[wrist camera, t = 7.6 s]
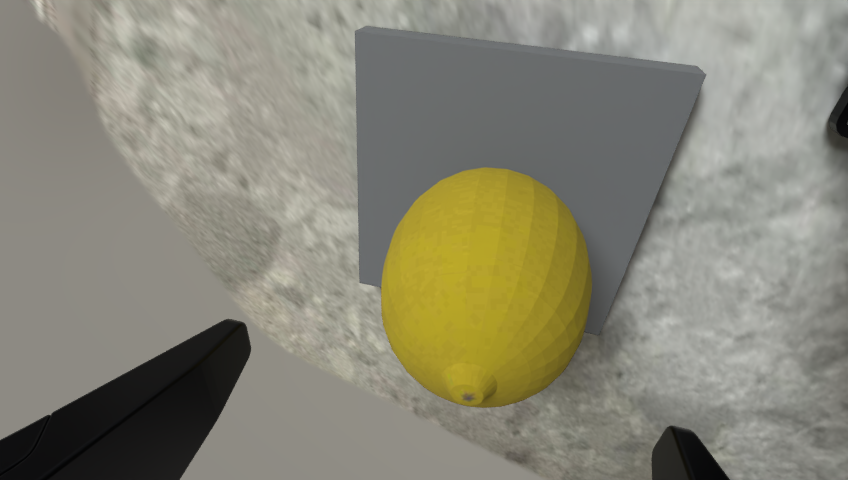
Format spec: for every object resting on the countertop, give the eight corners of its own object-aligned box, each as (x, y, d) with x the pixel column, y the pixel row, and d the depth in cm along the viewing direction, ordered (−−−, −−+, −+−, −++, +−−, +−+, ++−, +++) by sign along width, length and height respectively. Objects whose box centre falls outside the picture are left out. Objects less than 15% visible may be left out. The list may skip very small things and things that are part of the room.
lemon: (504, 289, 18) (485, 496, 11) (389, 208, 17) (296, 386, 10) (617, 197, 15) (678, 411, 8) (484, 90, 14) (437, 240, 7)
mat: (696, 65, 13) (706, 74, 12) (597, 318, 19) (599, 335, 18) (366, 26, 15) (355, 31, 14) (367, 268, 20) (359, 282, 19)
